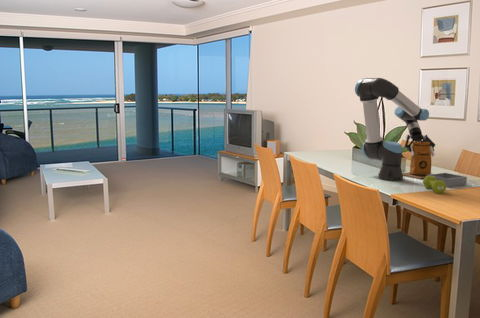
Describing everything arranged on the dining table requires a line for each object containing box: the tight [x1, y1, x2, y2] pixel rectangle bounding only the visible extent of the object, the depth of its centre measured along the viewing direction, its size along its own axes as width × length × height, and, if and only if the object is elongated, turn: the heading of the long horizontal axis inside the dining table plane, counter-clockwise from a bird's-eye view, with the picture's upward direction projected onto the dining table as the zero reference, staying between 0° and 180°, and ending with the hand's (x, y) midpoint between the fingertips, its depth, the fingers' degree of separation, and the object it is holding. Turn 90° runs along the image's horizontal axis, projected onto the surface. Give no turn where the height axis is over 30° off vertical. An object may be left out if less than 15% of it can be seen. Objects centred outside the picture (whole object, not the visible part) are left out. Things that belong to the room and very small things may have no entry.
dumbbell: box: [422, 176, 448, 194], centre depth 249 cm, size 16×8×7 cm, turn 178°
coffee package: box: [409, 141, 432, 175], centre depth 290 cm, size 10×12×22 cm
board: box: [402, 171, 433, 181], centre depth 292 cm, size 20×18×1 cm
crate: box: [427, 172, 468, 189], centre depth 267 cm, size 17×15×5 cm
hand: (423, 155), depth 288 cm, fingers open, 13 cm apart
